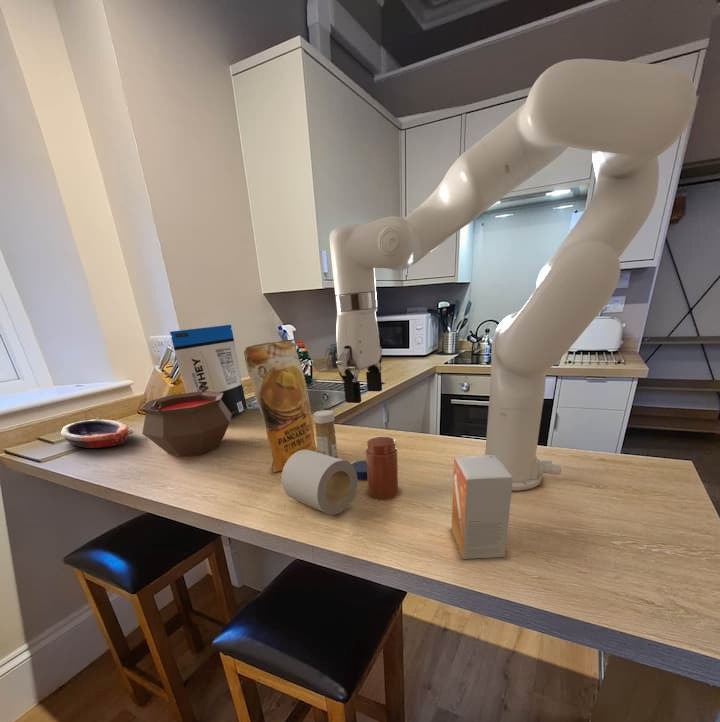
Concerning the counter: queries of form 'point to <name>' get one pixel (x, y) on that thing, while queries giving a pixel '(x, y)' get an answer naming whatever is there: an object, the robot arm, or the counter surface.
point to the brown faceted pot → (187, 422)
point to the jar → (382, 468)
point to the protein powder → (210, 364)
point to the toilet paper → (319, 481)
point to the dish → (95, 433)
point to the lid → (361, 469)
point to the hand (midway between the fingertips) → (364, 396)
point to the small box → (481, 506)
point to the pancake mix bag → (281, 398)
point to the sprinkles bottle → (325, 432)
